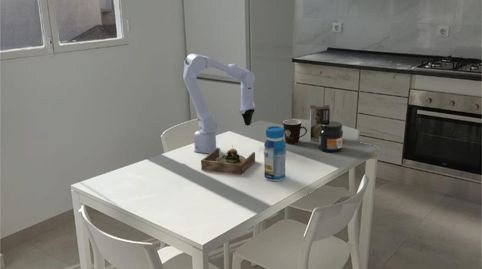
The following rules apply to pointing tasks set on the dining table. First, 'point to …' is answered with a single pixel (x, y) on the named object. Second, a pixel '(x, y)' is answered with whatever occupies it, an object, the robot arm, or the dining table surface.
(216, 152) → the box
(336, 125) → the supplement container
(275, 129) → the beverage bottle
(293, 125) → the coffee mug
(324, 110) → the coffee box
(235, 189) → the dining table surface
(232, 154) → the burger
